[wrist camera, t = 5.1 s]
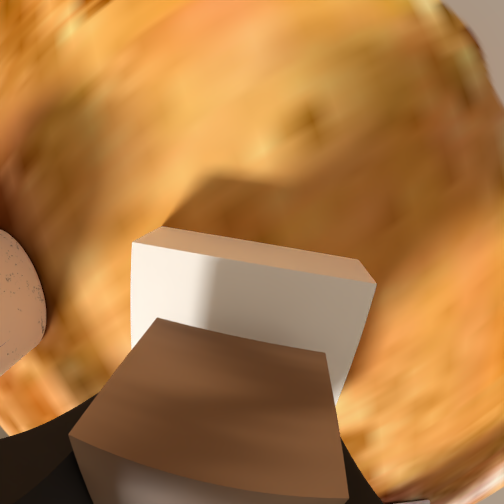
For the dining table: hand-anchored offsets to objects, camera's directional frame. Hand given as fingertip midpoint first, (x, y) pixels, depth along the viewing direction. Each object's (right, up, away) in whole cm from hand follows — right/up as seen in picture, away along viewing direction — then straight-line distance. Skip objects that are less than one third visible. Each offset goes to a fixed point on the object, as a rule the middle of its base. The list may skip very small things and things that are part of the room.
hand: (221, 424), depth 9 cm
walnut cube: (0, 0, +1) cm, 2 cm away
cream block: (+1, +2, +7) cm, 7 cm away
